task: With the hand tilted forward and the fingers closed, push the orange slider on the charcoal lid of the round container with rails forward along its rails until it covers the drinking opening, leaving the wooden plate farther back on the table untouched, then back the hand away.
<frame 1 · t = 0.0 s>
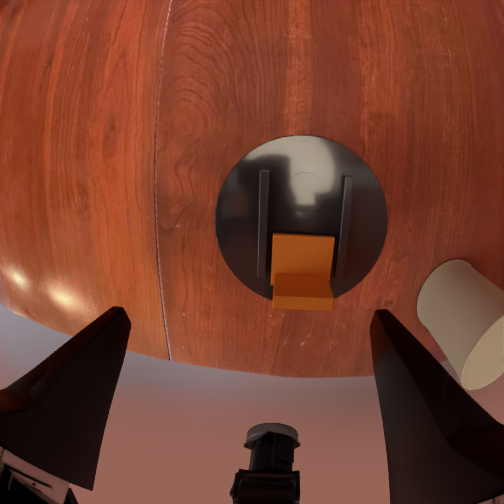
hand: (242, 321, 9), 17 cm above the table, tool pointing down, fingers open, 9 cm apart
round container with rails: (296, 202, 24), on the table
slider: (303, 270, 15), point 11 cm above the table, slide at 0.0 cm
can: (447, 294, 26), on the table
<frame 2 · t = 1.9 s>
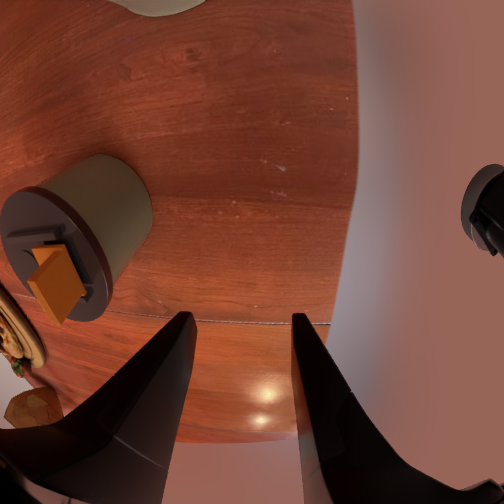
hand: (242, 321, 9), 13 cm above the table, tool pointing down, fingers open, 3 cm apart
round container with rails: (104, 207, 22), on the table
bowl: (52, 389, 57), on the table
slider: (46, 284, 13), point 11 cm above the table, slide at 0.0 cm
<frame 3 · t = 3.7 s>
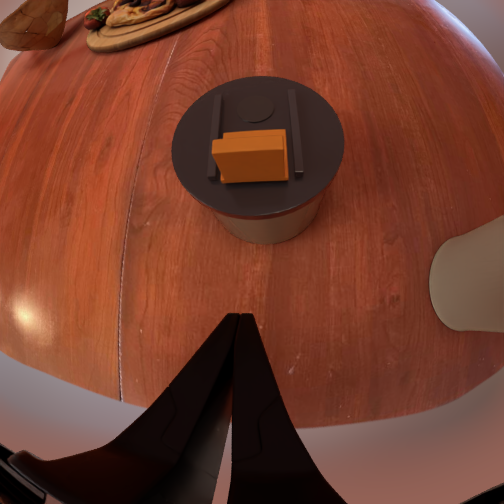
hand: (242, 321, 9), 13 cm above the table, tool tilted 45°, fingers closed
round container with rails: (265, 189, 24), on the table
bowl: (56, 45, 40), on the table
wooden plate: (160, 9, 35), on the table
slider: (251, 141, 13), point 11 cm above the table, slide at 0.0 cm
can: (463, 283, 20), on the table
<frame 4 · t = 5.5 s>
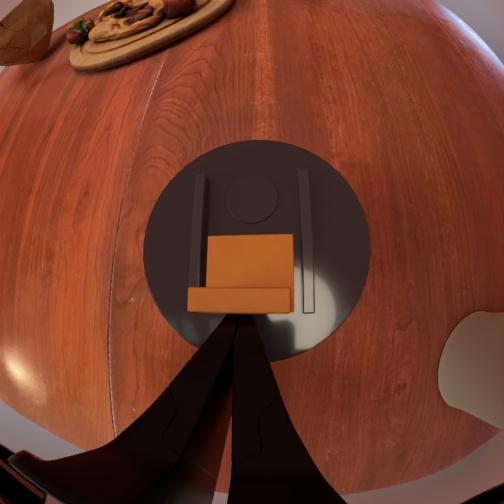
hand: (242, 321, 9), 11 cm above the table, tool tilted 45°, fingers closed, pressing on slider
round container with rails: (265, 269, 21), on the table
bowl: (42, 58, 38), on the table
wooden plate: (149, 20, 32), on the table
slider: (245, 268, 10), point 11 cm above the table, slide at 0.5 cm, touching gripper
can: (473, 360, 17), on the table
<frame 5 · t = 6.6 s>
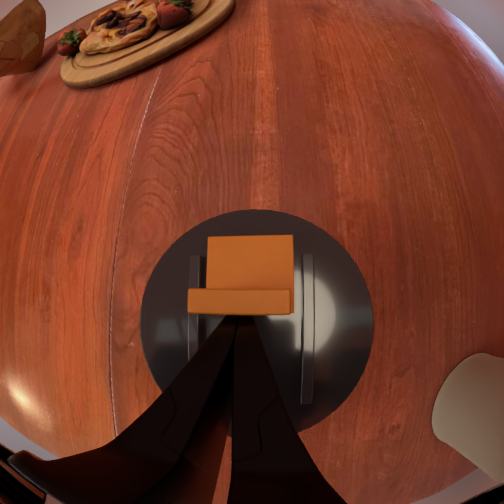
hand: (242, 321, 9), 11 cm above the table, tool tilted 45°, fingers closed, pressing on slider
round container with rails: (265, 320, 20), on the table
bowl: (35, 67, 37), on the table
wooden plate: (143, 29, 31), on the table
slider: (245, 269, 10), point 11 cm above the table, slide at 4.3 cm, touching gripper
can: (467, 399, 16), on the table
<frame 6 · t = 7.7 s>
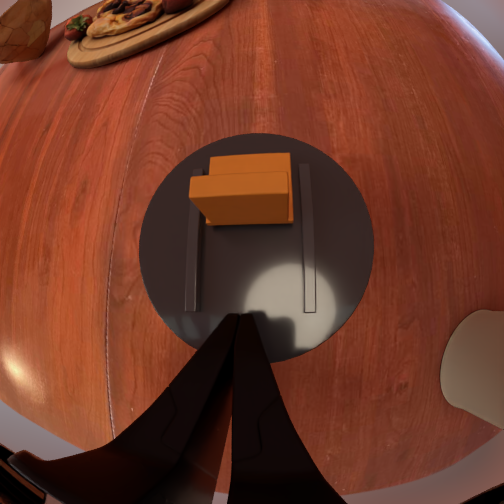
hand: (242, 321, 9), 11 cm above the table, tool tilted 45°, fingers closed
round container with rails: (265, 266, 20), on the table
bowl: (40, 55, 36), on the table
wooden plate: (147, 15, 31), on the table
slider: (245, 172, 10), point 11 cm above the table, slide at 4.1 cm
can: (475, 359, 17), on the table
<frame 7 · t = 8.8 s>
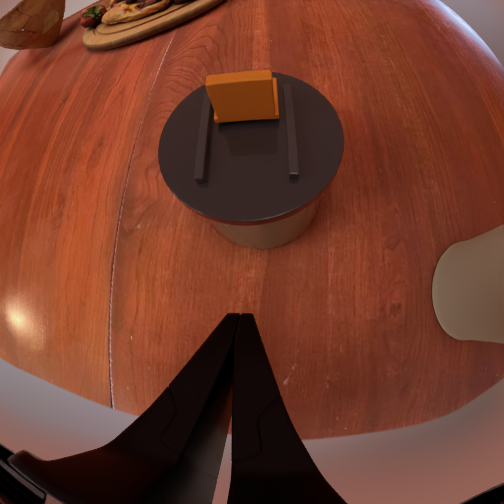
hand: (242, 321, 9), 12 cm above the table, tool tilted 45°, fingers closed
round container with rails: (261, 191, 23), on the table
bowl: (53, 43, 39), on the table
wooden plate: (156, 6, 34), on the table
slider: (243, 82, 13), point 11 cm above the table, slide at 4.1 cm
can: (467, 290, 19), on the table
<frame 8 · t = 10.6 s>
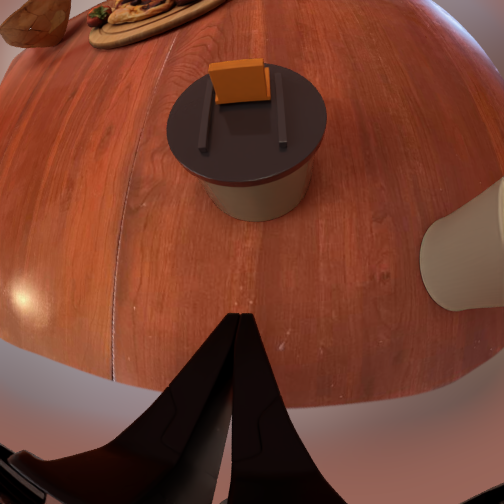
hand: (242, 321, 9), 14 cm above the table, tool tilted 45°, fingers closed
round container with rails: (257, 171, 25), on the table
bowl: (58, 43, 41), on the table
wooden plate: (160, 8, 36), on the table
slider: (240, 70, 15), point 11 cm above the table, slide at 4.1 cm
can: (455, 263, 21), on the table
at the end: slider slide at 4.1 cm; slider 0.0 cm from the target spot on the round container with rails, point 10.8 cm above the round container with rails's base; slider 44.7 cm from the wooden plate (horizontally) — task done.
